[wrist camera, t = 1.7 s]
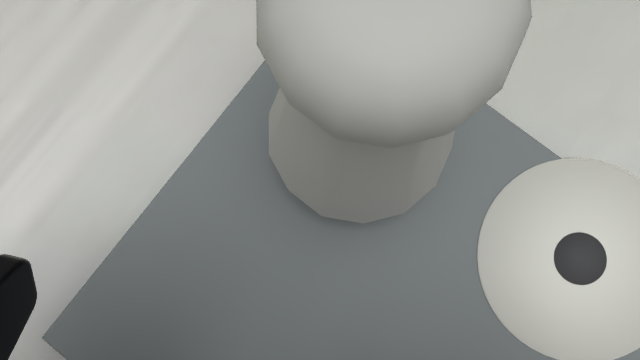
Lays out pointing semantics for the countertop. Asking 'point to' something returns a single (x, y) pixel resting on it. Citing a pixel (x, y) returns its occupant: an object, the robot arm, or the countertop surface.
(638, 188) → the mat
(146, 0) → the countertop surface
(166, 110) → the countertop surface
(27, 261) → the robot arm
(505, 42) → the salt shaker
